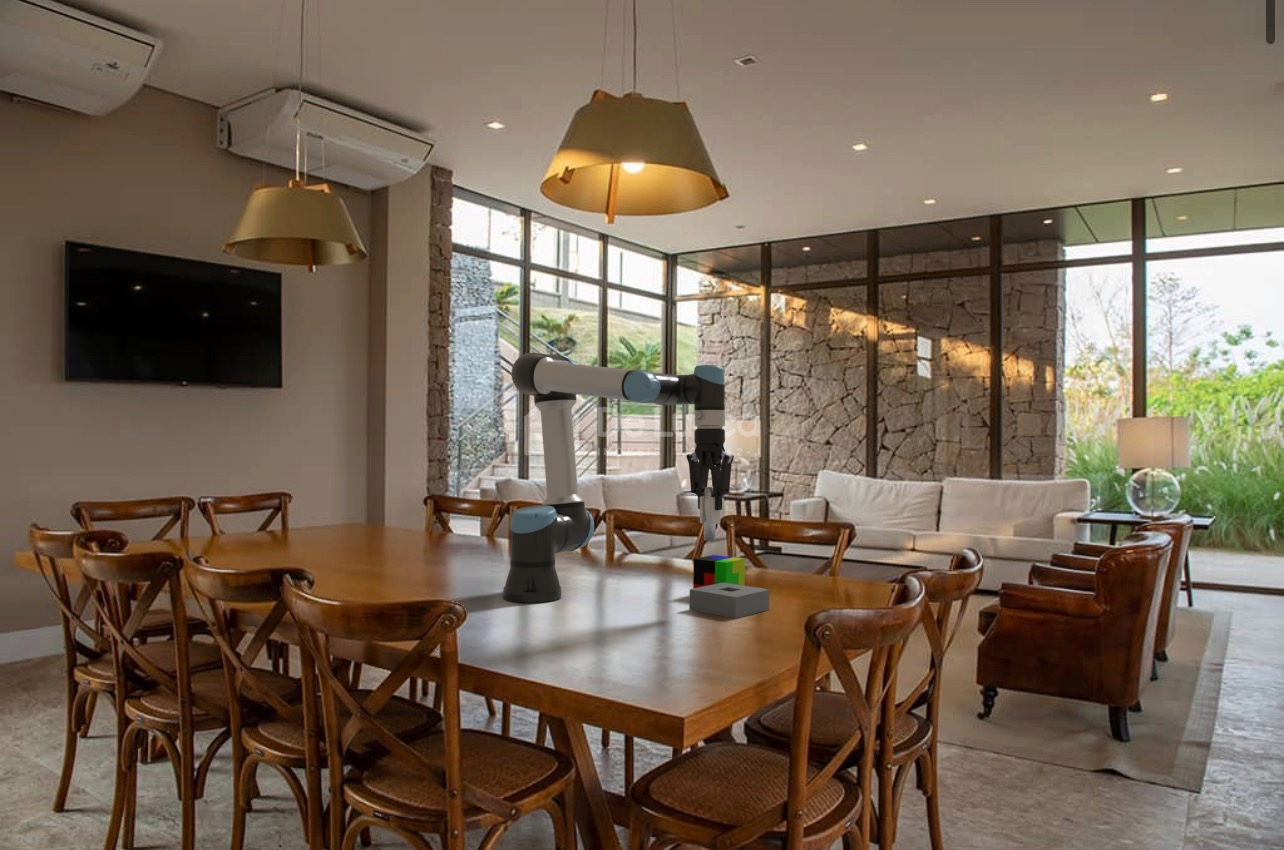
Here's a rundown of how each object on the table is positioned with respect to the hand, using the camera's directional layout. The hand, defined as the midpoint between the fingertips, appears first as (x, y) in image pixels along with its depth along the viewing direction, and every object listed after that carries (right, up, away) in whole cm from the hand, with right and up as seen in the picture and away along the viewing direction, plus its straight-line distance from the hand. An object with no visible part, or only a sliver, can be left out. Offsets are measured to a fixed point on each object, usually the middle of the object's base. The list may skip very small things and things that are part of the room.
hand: (710, 523), depth 213 cm
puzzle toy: (+4, -22, +19) cm, 29 cm away
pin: (0, -4, 0) cm, 4 cm away
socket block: (+5, -22, +1) cm, 22 cm away
